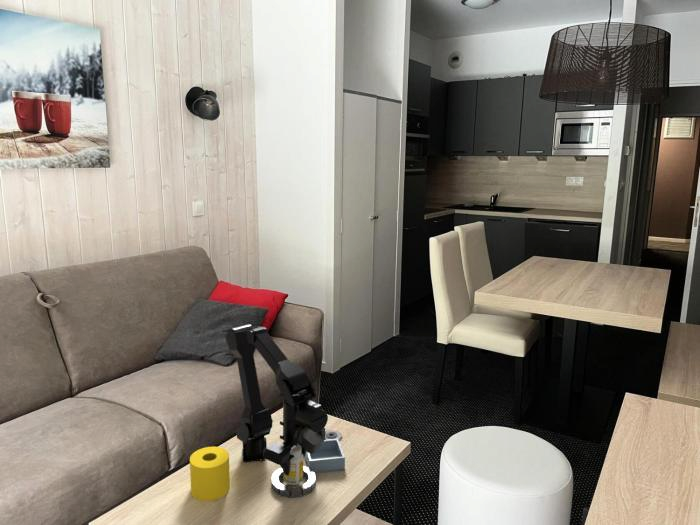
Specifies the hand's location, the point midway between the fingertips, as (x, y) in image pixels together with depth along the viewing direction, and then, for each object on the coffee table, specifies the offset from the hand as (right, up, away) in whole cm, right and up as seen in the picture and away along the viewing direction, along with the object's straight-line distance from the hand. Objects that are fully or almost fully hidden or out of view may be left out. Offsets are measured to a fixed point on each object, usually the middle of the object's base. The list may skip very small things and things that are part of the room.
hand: (293, 469), depth 145 cm
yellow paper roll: (-22, -5, -2) cm, 23 cm away
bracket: (+7, 0, +27) cm, 28 cm away
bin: (+8, -2, +12) cm, 14 cm away
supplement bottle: (0, -3, +1) cm, 3 cm away
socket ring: (0, -4, +1) cm, 4 cm away
